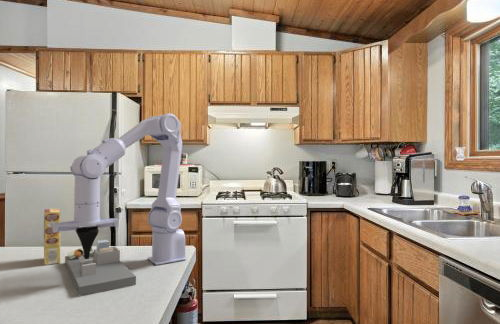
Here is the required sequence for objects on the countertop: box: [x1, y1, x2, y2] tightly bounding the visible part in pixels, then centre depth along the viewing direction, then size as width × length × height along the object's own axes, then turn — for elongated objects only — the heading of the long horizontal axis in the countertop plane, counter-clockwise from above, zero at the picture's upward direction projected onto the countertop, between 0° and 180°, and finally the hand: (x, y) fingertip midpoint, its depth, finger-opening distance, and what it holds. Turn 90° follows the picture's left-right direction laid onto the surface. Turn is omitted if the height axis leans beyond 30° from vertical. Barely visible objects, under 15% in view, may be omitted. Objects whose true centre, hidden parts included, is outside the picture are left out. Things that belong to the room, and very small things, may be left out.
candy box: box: [43, 208, 62, 266], centre depth 96 cm, size 9×4×15 cm, turn 33°
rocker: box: [67, 247, 94, 259], centre depth 93 cm, size 6×4×1 cm
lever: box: [74, 248, 87, 265], centre depth 79 cm, size 2×3×6 cm
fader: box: [96, 239, 110, 249], centre depth 96 cm, size 3×4×4 cm
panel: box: [64, 246, 137, 297], centre depth 85 cm, size 12×30×5 cm, turn 35°
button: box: [99, 248, 114, 253], centre depth 89 cm, size 4×4×3 cm
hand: (86, 258), depth 79 cm, fingers closed
